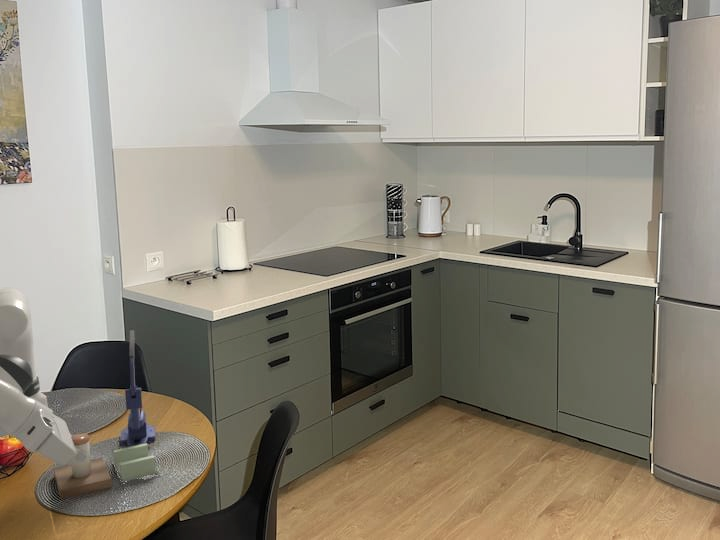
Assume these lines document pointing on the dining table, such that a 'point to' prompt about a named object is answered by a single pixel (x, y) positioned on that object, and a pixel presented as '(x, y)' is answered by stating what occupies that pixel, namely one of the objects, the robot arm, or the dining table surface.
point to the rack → (134, 462)
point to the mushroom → (84, 467)
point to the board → (82, 480)
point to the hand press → (135, 411)
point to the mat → (138, 480)
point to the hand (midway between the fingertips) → (83, 453)
